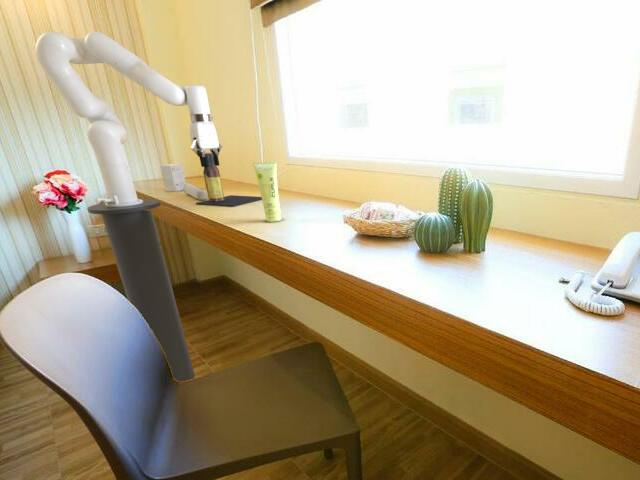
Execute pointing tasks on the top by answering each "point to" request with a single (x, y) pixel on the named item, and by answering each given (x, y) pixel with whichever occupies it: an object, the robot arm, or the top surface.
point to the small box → (173, 177)
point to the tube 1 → (194, 191)
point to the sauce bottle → (213, 180)
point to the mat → (232, 201)
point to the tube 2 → (268, 189)
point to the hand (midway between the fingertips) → (210, 165)
